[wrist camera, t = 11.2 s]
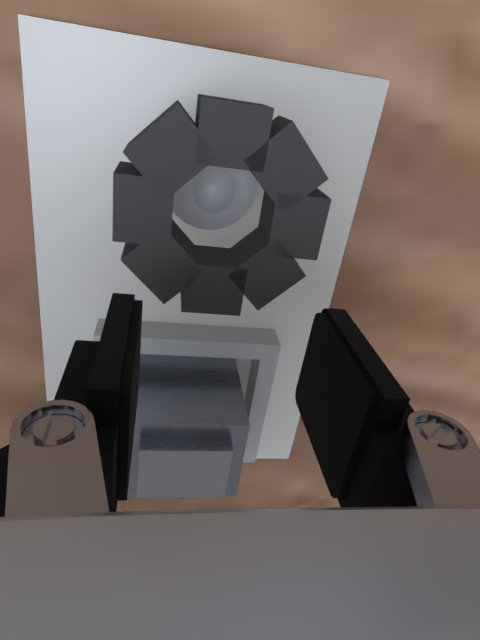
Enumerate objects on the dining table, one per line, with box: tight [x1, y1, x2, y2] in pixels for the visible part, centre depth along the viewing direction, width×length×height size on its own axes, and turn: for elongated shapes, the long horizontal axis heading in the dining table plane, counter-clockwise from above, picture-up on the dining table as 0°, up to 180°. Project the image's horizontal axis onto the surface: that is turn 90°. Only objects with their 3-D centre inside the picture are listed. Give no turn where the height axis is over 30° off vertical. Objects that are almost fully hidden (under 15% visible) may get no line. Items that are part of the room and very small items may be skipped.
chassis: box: [18, 14, 390, 463], centre depth 23 cm, size 24×16×6 cm, turn 172°
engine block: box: [127, 354, 250, 498], centre depth 24 cm, size 5×6×7 cm
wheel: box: [112, 94, 332, 316], centre depth 15 cm, size 7×7×2 cm
